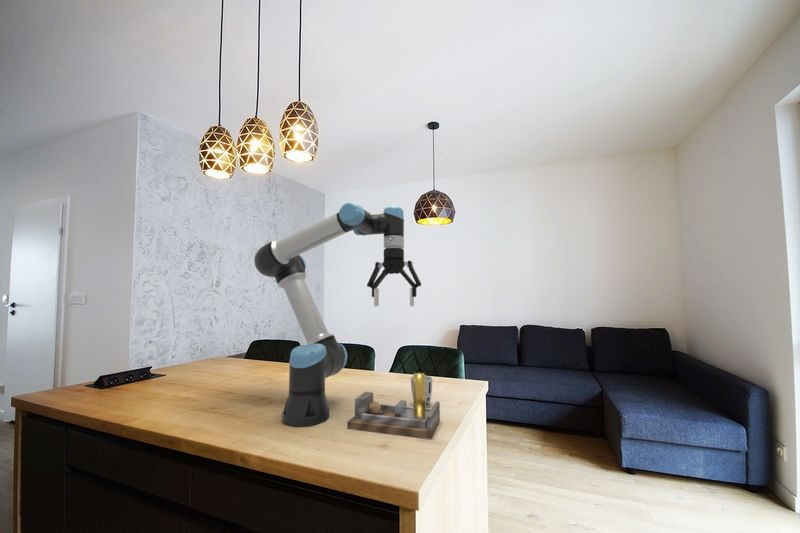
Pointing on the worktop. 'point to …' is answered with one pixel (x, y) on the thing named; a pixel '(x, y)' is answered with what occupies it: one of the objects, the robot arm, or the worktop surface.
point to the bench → (392, 419)
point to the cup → (427, 389)
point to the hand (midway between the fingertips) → (393, 306)
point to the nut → (374, 408)
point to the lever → (418, 401)
